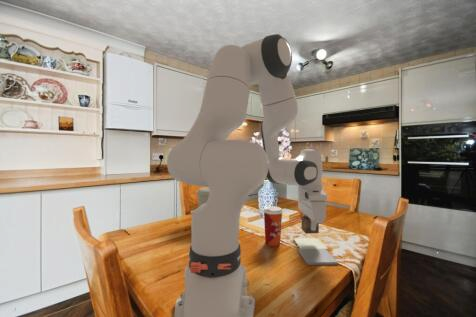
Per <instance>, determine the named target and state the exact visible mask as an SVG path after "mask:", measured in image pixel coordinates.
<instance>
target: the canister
mask: <svg viewBox="0 0 476 317" xmlns="http://www.w3.org/2000/svg"><path fill="white" fill-rule="evenodd" d="M209 192H210V188H209V187H204V186H202V187H201V188H199V189H198V190H196V191H195V193H196V194H197V195H196V196H197V202H198V203H197V204H198V207H199V206H201V205H202V204H204V203H206V202H207V200H208V197H209Z"/></svg>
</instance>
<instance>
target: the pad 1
mask: <svg viewBox="0 0 476 317" xmlns="http://www.w3.org/2000/svg"><path fill="white" fill-rule="evenodd" d="M294 241H295V242H294ZM293 242H294V243H295V245H296V244H297V245H296V246H297V247H299V248H298V249H326V250H328V251H329V248H328V247H327V246H326V245H325V244H324V243H323V242H322V241H321V239H319V237H301V238H300V237H296V238H295V237H293Z"/></svg>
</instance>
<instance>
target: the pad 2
mask: <svg viewBox="0 0 476 317" xmlns="http://www.w3.org/2000/svg"><path fill="white" fill-rule="evenodd" d="M297 252H298V253H299V255H300V257H302V259H303V261H304V262H305V264H306V265H307V266H318V265H319V266H320V265H321V266H323V265H324V266H325V265H329V266H331V265H334V266H335V265H339V261H337V259H336V258H335V257H334V256H333V255H332V254H331V253H330V252H329V250H328V251H327V250H326V249H299V248H297Z"/></svg>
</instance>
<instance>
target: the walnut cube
mask: <svg viewBox="0 0 476 317" xmlns="http://www.w3.org/2000/svg"><path fill="white" fill-rule="evenodd" d="M310 225H311V219H310V218H309V217H308V216H301V228H300V229H301V230H302V232H304V233H305V234H319V229H320V228H319V227H320V226H319V225H320V223H317V225H316V230H315V231H312V230H311V229H310Z"/></svg>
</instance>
